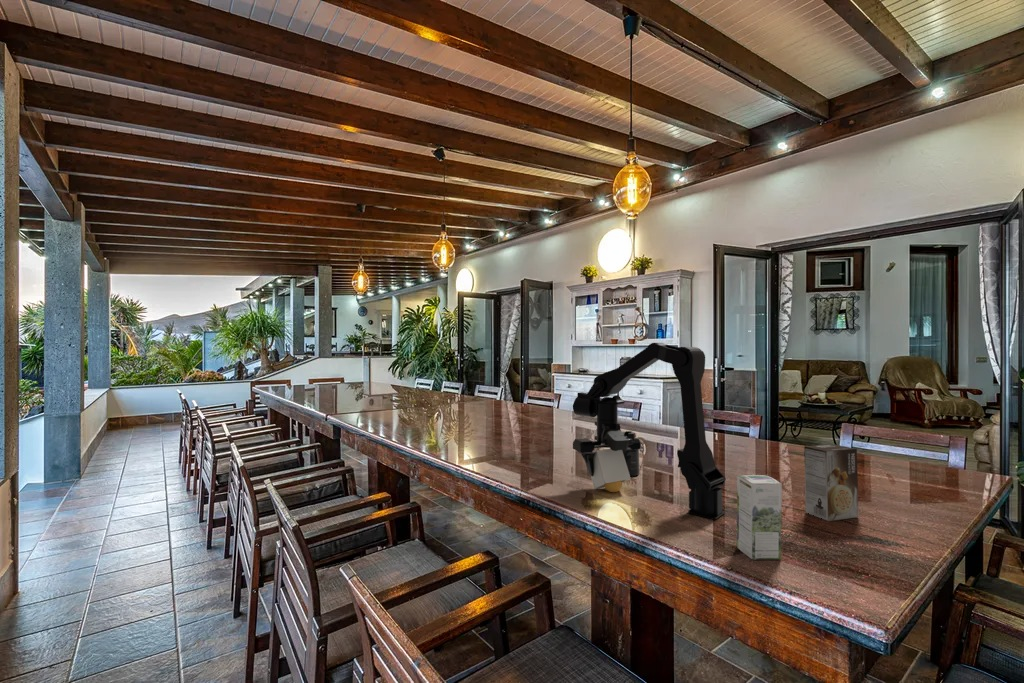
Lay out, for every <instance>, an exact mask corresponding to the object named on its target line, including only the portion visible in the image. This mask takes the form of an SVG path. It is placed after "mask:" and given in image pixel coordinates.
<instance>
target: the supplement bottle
mask: <svg viewBox="0 0 1024 683" xmlns="http://www.w3.org/2000/svg"><path fill="white" fill-rule="evenodd" d="M634 437H635V438H636V436H635V435H634ZM635 450H637V452H634V453H633V454H632V455H631V456H630V457H629V459H628V462H627V468H628V471H629V474H630V476H632V477H637V476H639V475H640V449H635ZM636 475H637V476H636Z"/></svg>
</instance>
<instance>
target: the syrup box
mask: <svg viewBox="0 0 1024 683" xmlns="http://www.w3.org/2000/svg"><path fill="white" fill-rule="evenodd" d="M782 488H783V486H782V483H781V482H779V480H776V479H775V478H773V477H771V476H768V475H763V474H762V475H757V474H755V475H754V474H752V475H751V474H750V475H748V474H747V475H743V474H742V475H737V476H736V548H737V549H738V550H740V552H742V553H743V554H744V555H745V556H747V557H748V558H749V559H750V560H756V561H758V560H759V561H760V560H761V561H762V560H764V561H765V560H767V561H769V560H782V504H783V503H782V502H783V501H782V499H783V498H782V495H783V494H782V493H783V492H782Z"/></svg>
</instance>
